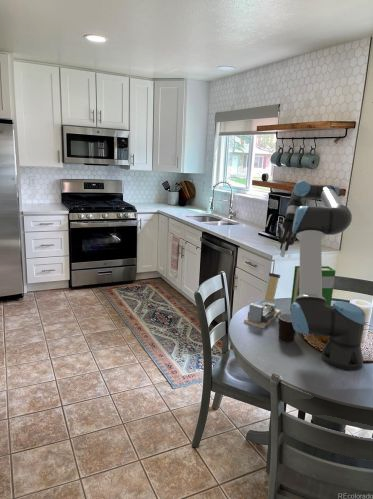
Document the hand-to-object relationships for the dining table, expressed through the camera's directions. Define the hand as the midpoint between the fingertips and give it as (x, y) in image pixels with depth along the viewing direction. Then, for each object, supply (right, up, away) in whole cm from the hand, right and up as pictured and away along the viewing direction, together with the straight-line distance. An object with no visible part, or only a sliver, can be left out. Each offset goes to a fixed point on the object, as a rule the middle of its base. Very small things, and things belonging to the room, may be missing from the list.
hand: (282, 255), depth 198 cm
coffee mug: (-5, -36, -29) cm, 46 cm away
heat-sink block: (-12, -29, -11) cm, 33 cm away
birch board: (-12, -30, -10) cm, 34 cm away
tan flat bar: (-8, -23, -6) cm, 25 cm away
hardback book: (+13, -29, -2) cm, 32 cm away
